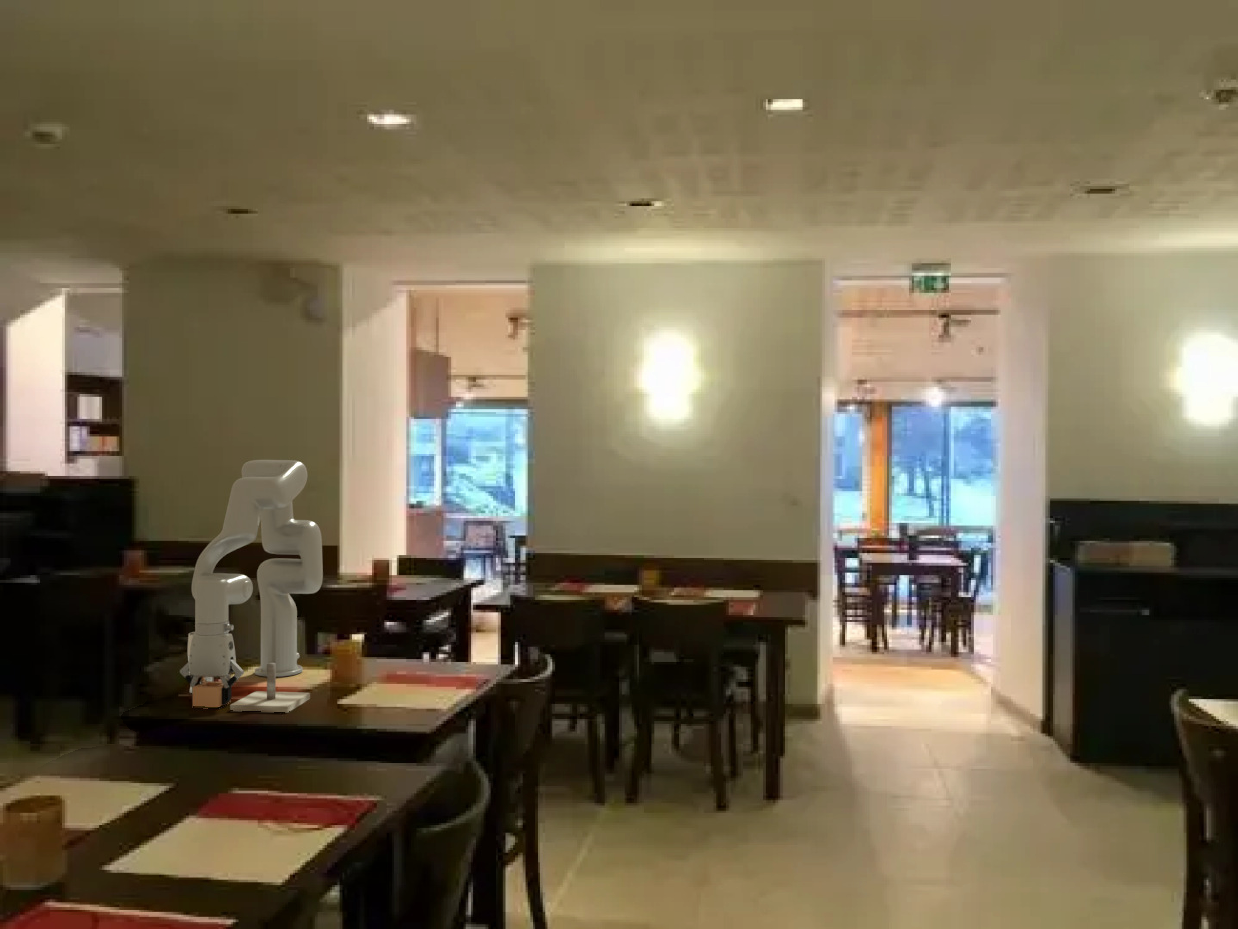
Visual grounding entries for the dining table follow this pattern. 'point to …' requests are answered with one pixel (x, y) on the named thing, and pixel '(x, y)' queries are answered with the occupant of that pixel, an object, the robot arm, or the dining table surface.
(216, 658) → the robot arm
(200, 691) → the orange square block
